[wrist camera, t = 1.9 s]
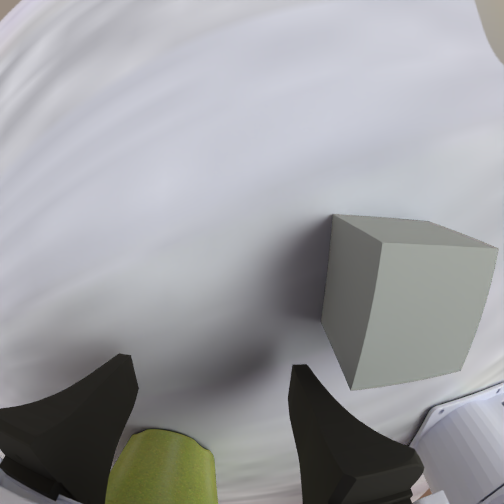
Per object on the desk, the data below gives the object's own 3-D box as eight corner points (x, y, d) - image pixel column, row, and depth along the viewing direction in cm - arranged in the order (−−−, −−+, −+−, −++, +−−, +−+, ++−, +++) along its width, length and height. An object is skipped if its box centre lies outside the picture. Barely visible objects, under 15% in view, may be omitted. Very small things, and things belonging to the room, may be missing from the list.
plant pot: (233, 487, 18) (230, 574, 9) (121, 467, 17) (96, 546, 9) (245, 423, 15) (244, 553, 7) (97, 396, 15) (42, 499, 6)
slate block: (427, 221, 12) (498, 248, 7) (409, 316, 13) (460, 370, 8) (332, 213, 12) (382, 242, 7) (320, 320, 13) (350, 390, 8)
